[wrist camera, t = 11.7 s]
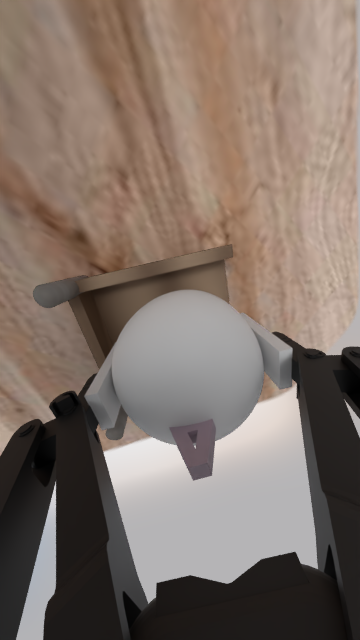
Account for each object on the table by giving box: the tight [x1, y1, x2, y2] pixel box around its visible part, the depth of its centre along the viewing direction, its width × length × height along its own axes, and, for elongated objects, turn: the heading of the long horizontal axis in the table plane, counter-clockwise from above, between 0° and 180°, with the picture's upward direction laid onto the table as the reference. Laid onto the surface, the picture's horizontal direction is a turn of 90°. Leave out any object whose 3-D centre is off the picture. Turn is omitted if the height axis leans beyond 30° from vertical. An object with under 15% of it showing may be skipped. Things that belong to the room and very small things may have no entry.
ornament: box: [112, 290, 264, 480], centre depth 12 cm, size 10×10×12 cm
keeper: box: [33, 245, 233, 440], centre depth 17 cm, size 15×15×6 cm
